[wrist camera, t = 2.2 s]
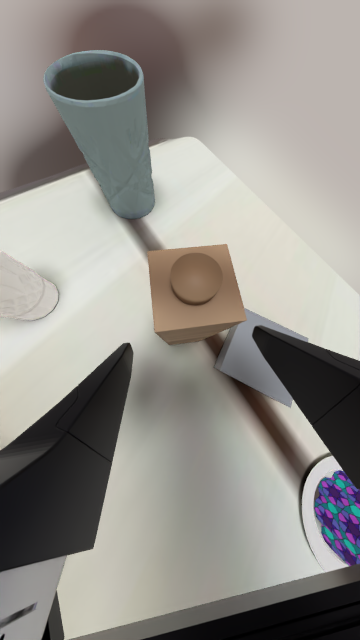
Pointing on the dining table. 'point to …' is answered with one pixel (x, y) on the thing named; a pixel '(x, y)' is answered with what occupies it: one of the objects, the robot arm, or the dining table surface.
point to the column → (193, 293)
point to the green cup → (107, 123)
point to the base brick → (253, 358)
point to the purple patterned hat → (332, 516)
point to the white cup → (24, 291)
